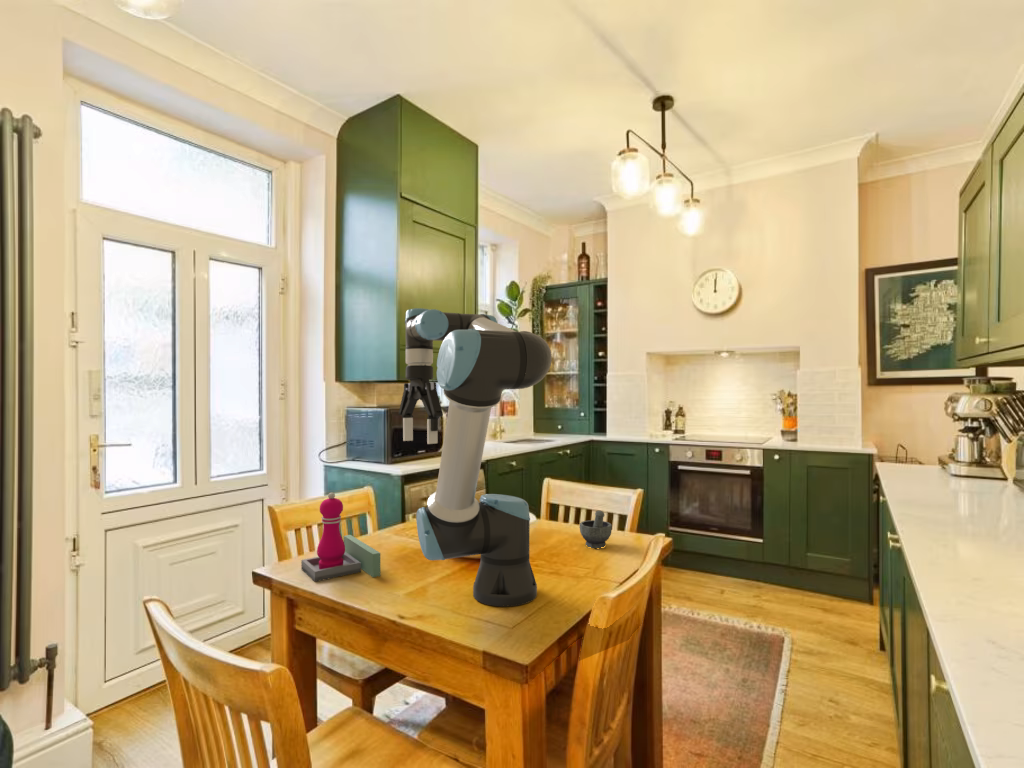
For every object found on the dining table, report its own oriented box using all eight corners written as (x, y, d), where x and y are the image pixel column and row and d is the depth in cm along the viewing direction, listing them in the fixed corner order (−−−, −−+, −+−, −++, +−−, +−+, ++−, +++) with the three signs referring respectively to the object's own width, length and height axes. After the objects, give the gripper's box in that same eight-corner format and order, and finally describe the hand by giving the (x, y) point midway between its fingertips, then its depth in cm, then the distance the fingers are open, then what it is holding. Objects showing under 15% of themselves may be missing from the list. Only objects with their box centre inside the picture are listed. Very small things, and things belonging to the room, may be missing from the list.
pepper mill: (349, 562, 147) (349, 490, 147) (338, 571, 140) (338, 495, 140) (324, 562, 148) (324, 489, 148) (312, 570, 141) (312, 494, 141)
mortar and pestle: (577, 542, 170) (577, 504, 170) (606, 541, 171) (605, 503, 171) (585, 553, 159) (585, 512, 159) (616, 551, 160) (616, 511, 160)
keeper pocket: (360, 572, 143) (360, 562, 143) (314, 581, 136) (314, 571, 136) (345, 560, 152) (345, 551, 152) (301, 569, 145) (301, 559, 145)
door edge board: (380, 575, 140) (380, 552, 140) (373, 577, 139) (373, 554, 139) (350, 555, 157) (350, 534, 157) (343, 556, 156) (343, 535, 156)
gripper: (455, 363, 141) (456, 444, 140) (410, 367, 160) (410, 438, 160) (430, 362, 136) (431, 445, 136) (386, 367, 155) (387, 440, 155)
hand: (419, 442), depth 148 cm, fingers open, 13 cm apart
